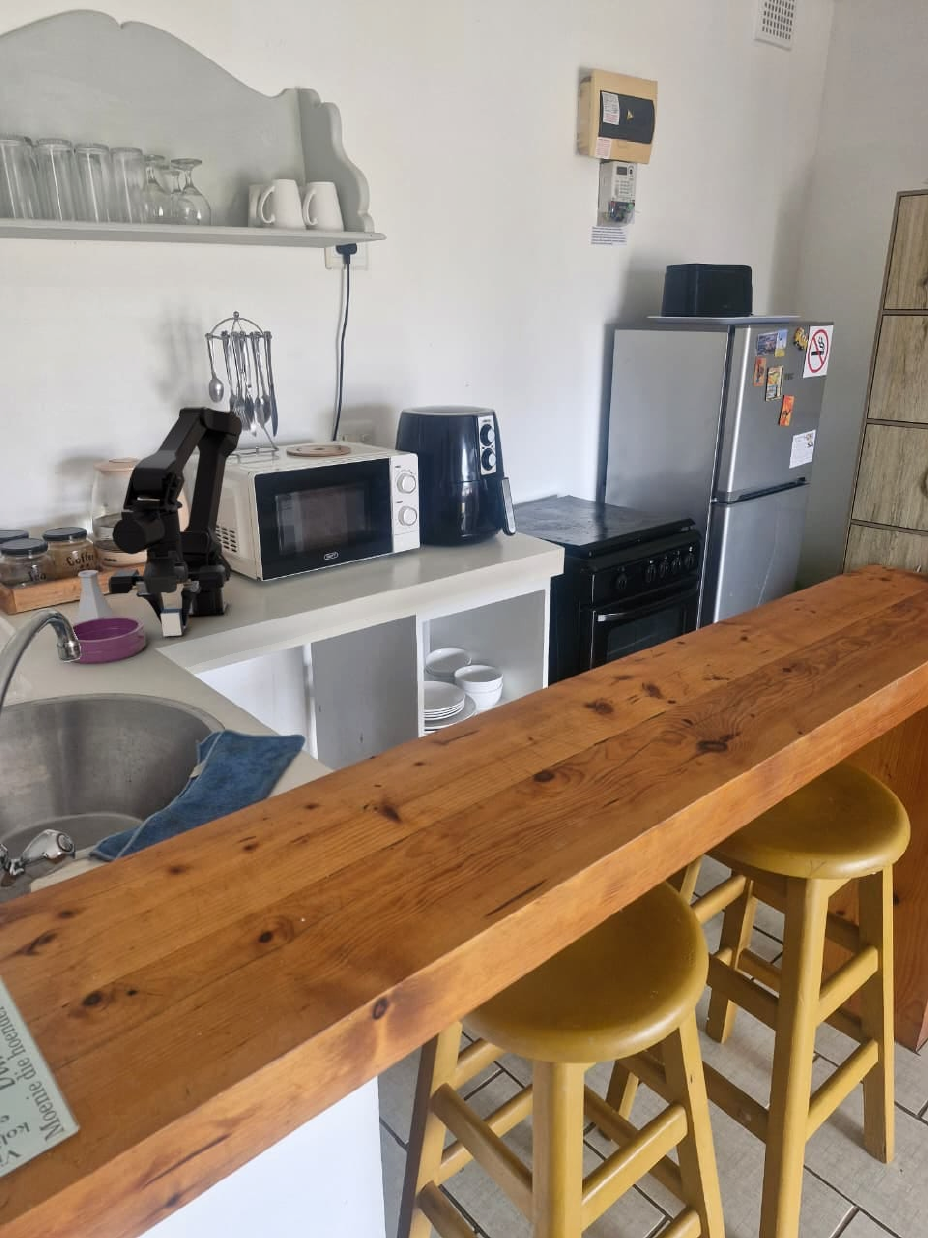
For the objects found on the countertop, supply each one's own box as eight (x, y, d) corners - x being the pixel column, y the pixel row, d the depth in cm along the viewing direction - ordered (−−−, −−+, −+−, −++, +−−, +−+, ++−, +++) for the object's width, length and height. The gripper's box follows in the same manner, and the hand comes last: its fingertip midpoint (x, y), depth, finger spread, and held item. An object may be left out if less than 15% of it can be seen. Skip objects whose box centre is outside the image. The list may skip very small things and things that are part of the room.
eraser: (168, 626, 154) (166, 604, 153) (186, 625, 155) (184, 603, 154) (163, 636, 149) (160, 614, 148) (181, 635, 150) (178, 612, 148)
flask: (102, 633, 153) (94, 578, 150) (66, 631, 154) (57, 577, 151) (125, 620, 160) (118, 567, 156) (90, 617, 161) (82, 566, 158)
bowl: (76, 640, 150) (73, 618, 148) (153, 636, 151) (150, 614, 150) (54, 667, 138) (50, 644, 137) (138, 662, 139) (134, 639, 138)
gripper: (93, 553, 138) (108, 645, 143) (214, 548, 141) (223, 638, 146) (110, 537, 149) (123, 623, 154) (222, 532, 151) (231, 617, 156)
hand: (174, 626), depth 152 cm, fingers closed on eraser, 3 cm apart
